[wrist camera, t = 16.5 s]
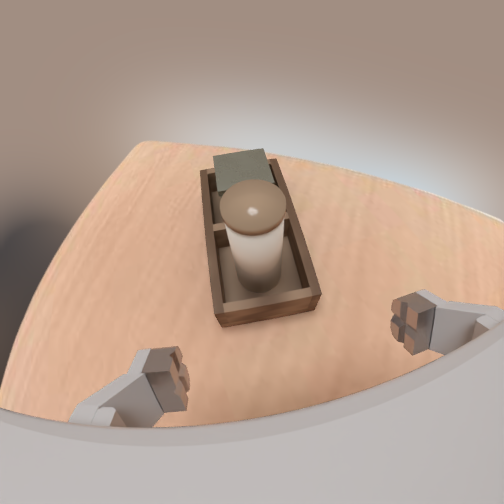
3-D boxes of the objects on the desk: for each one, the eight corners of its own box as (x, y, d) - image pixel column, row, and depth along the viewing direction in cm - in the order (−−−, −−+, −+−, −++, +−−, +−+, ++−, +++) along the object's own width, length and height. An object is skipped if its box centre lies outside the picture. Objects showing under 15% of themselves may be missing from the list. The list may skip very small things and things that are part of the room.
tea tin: (226, 231, 37) (217, 191, 30) (221, 196, 40) (213, 156, 33) (273, 223, 37) (274, 182, 30) (264, 189, 40) (263, 148, 34)
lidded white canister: (240, 297, 32) (223, 235, 21) (233, 257, 35) (216, 185, 24) (286, 288, 32) (293, 223, 21) (276, 249, 35) (277, 175, 24)
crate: (221, 327, 31) (214, 314, 27) (206, 193, 42) (200, 170, 38) (314, 309, 32) (321, 293, 28) (275, 182, 43) (276, 158, 38)
